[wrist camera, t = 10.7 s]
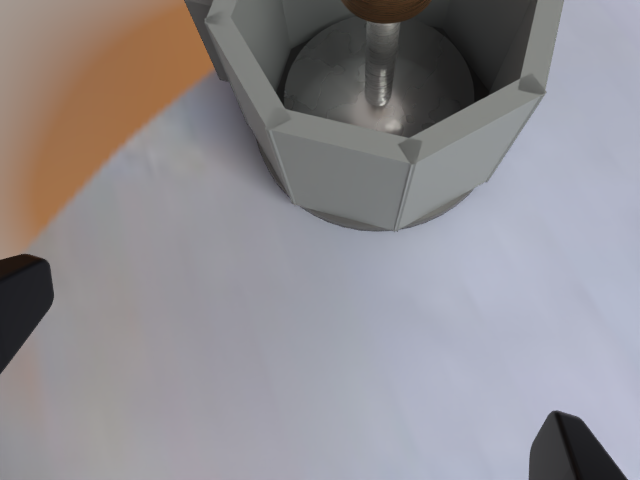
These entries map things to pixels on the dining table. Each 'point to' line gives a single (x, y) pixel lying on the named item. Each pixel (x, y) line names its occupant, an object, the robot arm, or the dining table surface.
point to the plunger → (380, 71)
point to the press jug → (371, 145)
